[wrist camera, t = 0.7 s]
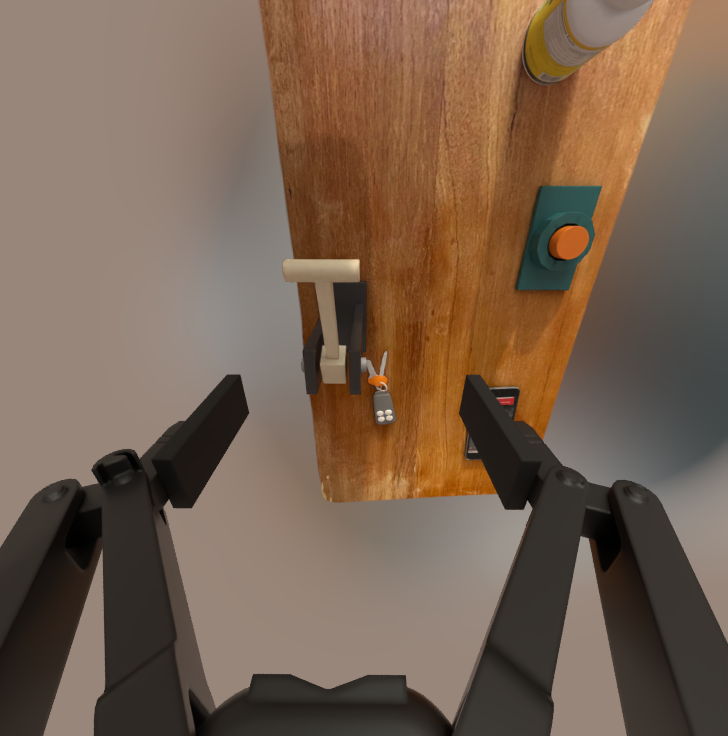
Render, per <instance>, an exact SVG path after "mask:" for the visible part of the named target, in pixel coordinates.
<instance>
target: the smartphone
mask: <svg viewBox="0 0 728 736" xmlns="http://www.w3.org/2000/svg"><path fill="white" fill-rule="evenodd" d="M490 390H491V391H492V392H493V394H494V395H495V397H496V398H497V399H498V401H499V402H500V403H501V405H502V406H503V407H504V409H505V410H506V412H507V413H508V414H509V416H510V417H511V418H512V420H513V421H514V417H515V412H516V407H517V403H518V398H519V393H520V390H519V389H518V388H517V387H496V388H490ZM465 457H466V459H468V460H480V459H481V458H480V456H479V454H478V452H477V450H476V448H475V446H474V443H473V441H472V439H471V437H470V435H469V433H468V435H467V442H466V450H465Z"/></svg>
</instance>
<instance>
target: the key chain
mask: <svg viewBox="0 0 728 736" xmlns="http://www.w3.org/2000/svg"><path fill="white" fill-rule="evenodd" d="M386 357H387V352H386V351H385V352H384V356H383V358H382V365H381V368H380V374H379V375H377V374H376V372H375V371H374V369H375V368H374V367H372V366H373V365H371V363H372V362H371V361H370V360H367V361H366V365H367V368H368V371H369V373H370V376H369V378H368V382H369V383H370V384H371V385H375V387H376V385H377V387H376V389H378V390H380V391H376V392H375V395H374V398H373V401H374V410H375V419H376V422H377V424H381V425H383V424H390V423H393V422H395V421H396V416H395V412H394V408H393V403H392V399H391V396H390V394H389V393H387V386H386V383H387V378H386V377H385V376H383V373H384V367H385V364H386ZM378 386H381V388H382V386H385V387H386V389H385V390H381V388H379V387H378Z"/></svg>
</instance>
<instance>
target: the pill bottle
mask: <svg viewBox="0 0 728 736" xmlns="http://www.w3.org/2000/svg"><path fill="white" fill-rule="evenodd" d="M652 2H653V0H545V2H544V3H543V4H542V5H541V7H540V8H539V9H538V11H537V12H536V14H535V15H534V17H533V18H532V20H531V22H530V24H529V26H528V28H527V31H526V34H525V37H524V41H523V48H522V59H523V65H524V68H525V71H526V73H527V75H528V76H529V77H530V78H531V79H532V80H533V81H534V82H536V83H538V84H541V85H552V84H556V83H558V82H560V81H562V80H564V79H565V78H567V77H568V76H570V75H571V74H572V73H573V72H575V71H576V70H577V69H579V68H580V67H581V66H583V65H584V64H585V63H587V62H588V61H590V60H591V59H592V58H594V57H595V56H596V55H598V54H599V53H601V52H602V51H603V50H605V49H606V48H607V47H609V46H610V45H612V44H613V43H614V42H616V41H617V40H618V39H620V38H621V37H623V36H624V35H625V34H626V33H628V32H629V31H630V30H631V29H632V28H633V27H634V26H635V25H636V24H637V23H638V22H639V21H640V19H641V18H642V17H643V16H644V14H645V13H646V11H647V10H648V8H649V7H650V5H651V4H652Z"/></svg>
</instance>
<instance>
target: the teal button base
mask: <svg viewBox="0 0 728 736" xmlns="http://www.w3.org/2000/svg"><path fill="white" fill-rule="evenodd" d="M601 188H602V186H540V187H539V190H538V195H537V199H536V203H535V207H534V212H533V216H532V220H531V224H530V229H529V233H528V237H527V241H526V246H525V250H524V254H523V258H522V263H521V267H520V271H519V275H518V280H517V284H516V288H515V289H517V290H569V288H570V285H571V282H572V279H573V275H574V272H575V269H576V266H577V264H578V263H579V262H580V261H581V260H582V259H583V258H584V256H585V255H586V254H587V253H588V252H589V250H590V248H591V245H592V242H593V239H594V236H595V232H594V227H593V222H592V220H591V219H592V216H593V213H594V210H595V206H596V203H597V200H598V197H599V194H600V191H601ZM565 226H581V227H583V228H585V229H586V230H587V232H588V234H589V242H588V245H587V247H586V249H585V250H584V251H583V252H582V253H581V254H580V255H579V256H577V257H576V258H573V259H570V260H565V259H560V258H555V257H553V256H552V255H551V254H550V252H549V241H550V239H551V237H552V235H553V234H554V233H555V232H556V231H557V230H559V229H560V228H562V227H565Z"/></svg>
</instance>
